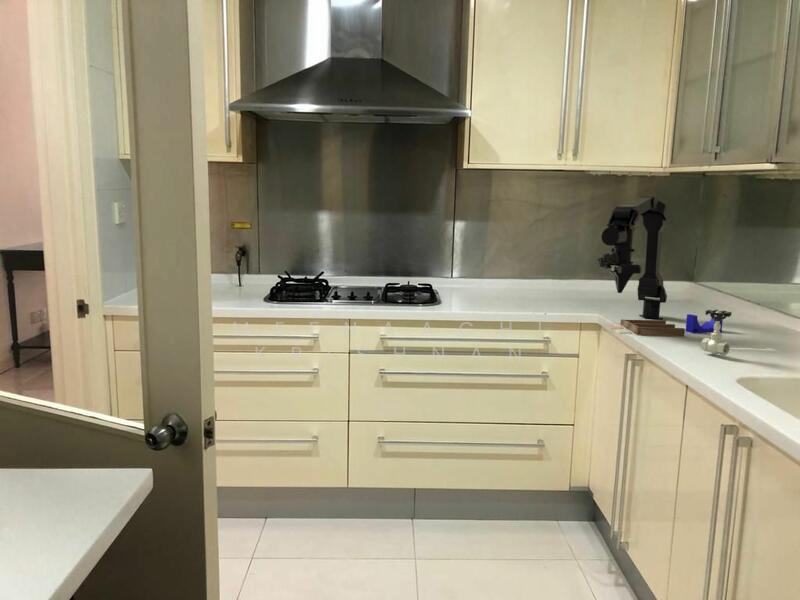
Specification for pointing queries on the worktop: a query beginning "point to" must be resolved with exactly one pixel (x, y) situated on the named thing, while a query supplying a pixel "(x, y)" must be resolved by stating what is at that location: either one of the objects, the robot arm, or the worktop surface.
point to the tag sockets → (649, 328)
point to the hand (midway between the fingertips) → (619, 292)
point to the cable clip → (694, 326)
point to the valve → (716, 335)
